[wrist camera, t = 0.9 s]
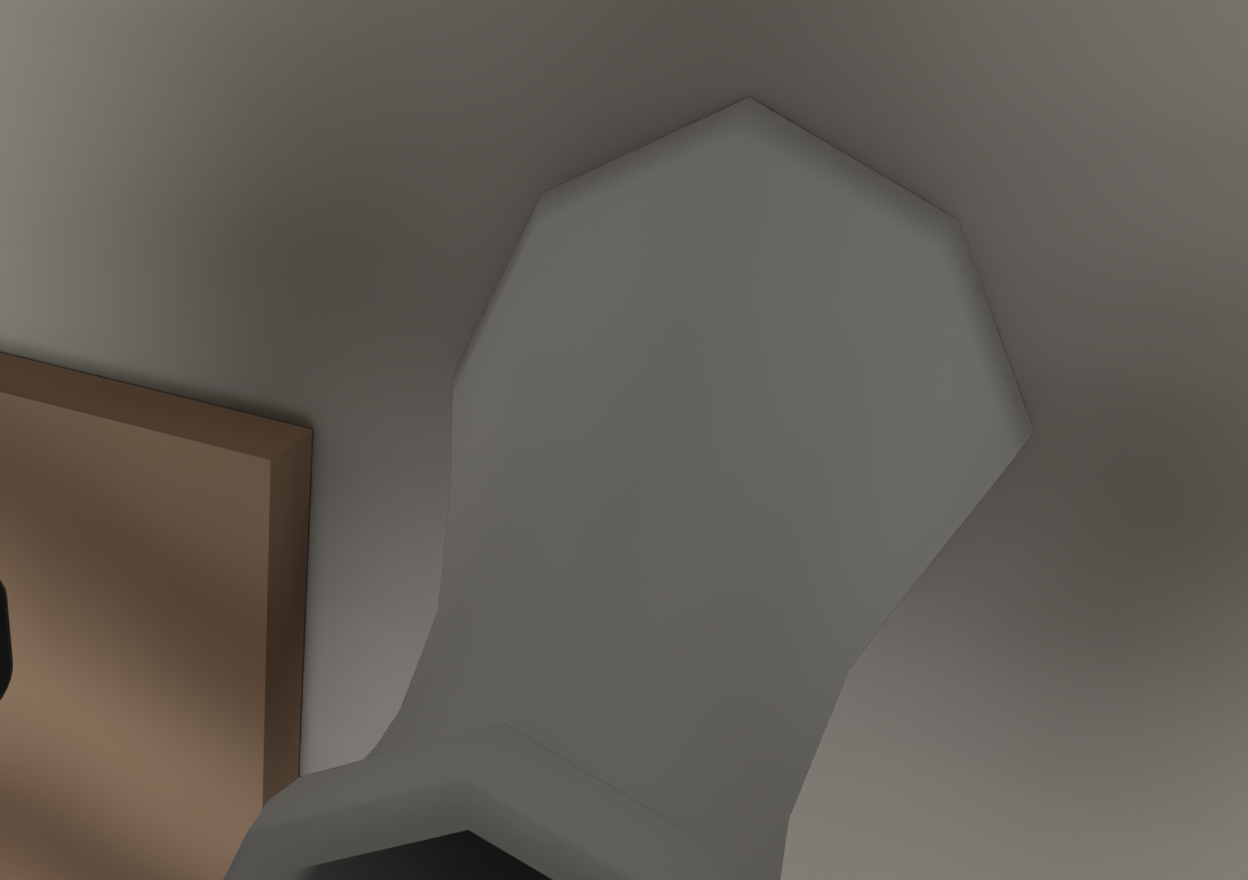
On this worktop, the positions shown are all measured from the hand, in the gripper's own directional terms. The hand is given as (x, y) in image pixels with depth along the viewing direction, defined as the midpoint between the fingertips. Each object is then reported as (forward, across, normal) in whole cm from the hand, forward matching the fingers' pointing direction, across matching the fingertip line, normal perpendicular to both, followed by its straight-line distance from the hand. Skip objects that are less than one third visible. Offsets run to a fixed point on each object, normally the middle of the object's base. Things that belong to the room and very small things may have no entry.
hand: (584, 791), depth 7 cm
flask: (+8, 0, 0) cm, 8 cm away
